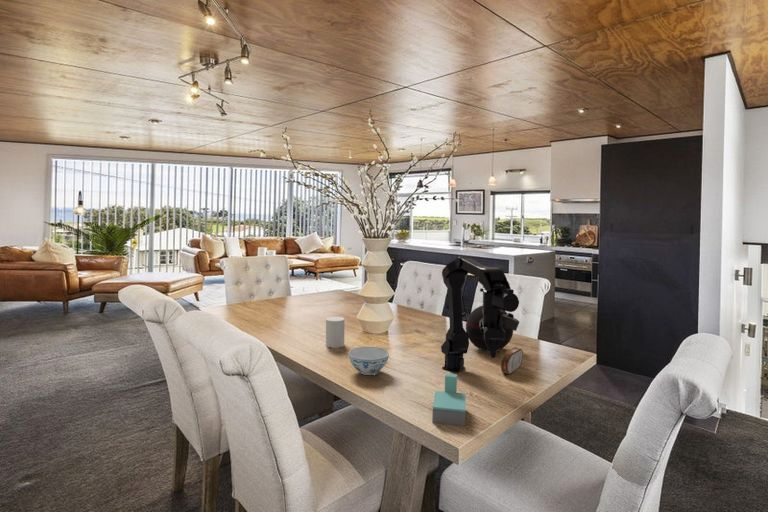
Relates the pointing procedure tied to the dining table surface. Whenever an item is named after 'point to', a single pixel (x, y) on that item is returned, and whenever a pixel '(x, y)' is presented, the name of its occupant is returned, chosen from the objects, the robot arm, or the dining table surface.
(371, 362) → the chinaware
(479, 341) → the decorative orb
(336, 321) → the gray cylinder
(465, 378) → the dining table surface
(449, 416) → the grey box
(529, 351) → the dining table surface
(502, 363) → the tin
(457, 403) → the teal stepped block
